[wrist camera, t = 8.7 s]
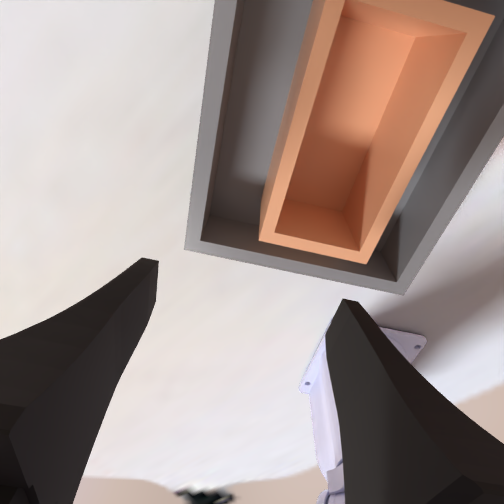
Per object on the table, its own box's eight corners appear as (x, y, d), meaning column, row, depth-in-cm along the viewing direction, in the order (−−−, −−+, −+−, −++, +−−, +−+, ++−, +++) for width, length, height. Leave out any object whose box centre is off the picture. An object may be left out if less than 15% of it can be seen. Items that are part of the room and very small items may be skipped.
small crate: (345, 218, 20) (366, 264, 16) (260, 198, 19) (258, 240, 15) (429, 25, 14) (495, 15, 10) (315, -8, 14) (334, -33, 10)
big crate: (383, 257, 22) (403, 295, 19) (197, 217, 21) (184, 249, 18) (530, -17, 14) (611, -37, 11) (243, -103, 13) (233, -155, 10)
